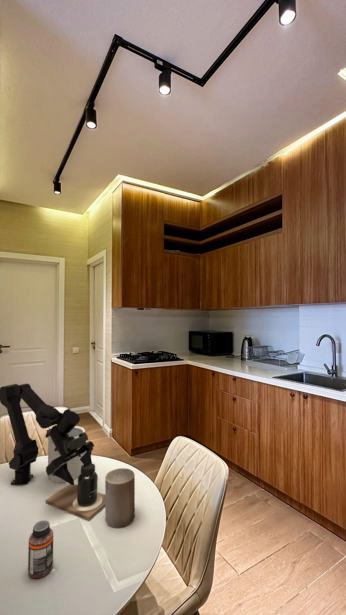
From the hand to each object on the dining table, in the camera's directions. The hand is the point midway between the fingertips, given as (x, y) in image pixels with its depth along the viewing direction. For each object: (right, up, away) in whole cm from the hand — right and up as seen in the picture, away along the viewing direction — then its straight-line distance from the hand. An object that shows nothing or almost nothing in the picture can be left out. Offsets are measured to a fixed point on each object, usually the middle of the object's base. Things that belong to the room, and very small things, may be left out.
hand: (83, 478), depth 103 cm
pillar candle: (+14, -9, -8) cm, 18 cm away
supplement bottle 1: (-3, -8, -28) cm, 29 cm away
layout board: (-2, -9, 0) cm, 9 cm away
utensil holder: (-13, -10, +19) cm, 25 cm away
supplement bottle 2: (+2, -8, -1) cm, 8 cm away
